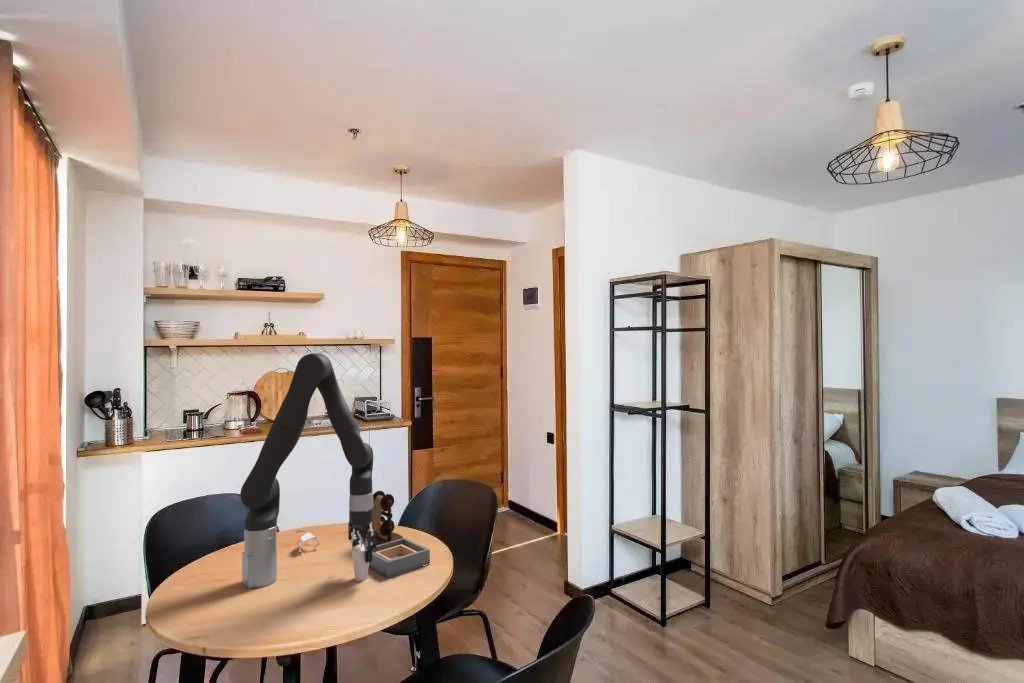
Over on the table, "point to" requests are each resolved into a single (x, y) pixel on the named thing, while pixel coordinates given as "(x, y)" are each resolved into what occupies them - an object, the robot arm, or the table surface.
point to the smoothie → (359, 562)
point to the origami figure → (305, 538)
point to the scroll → (379, 523)
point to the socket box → (398, 557)
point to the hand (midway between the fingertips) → (362, 558)
